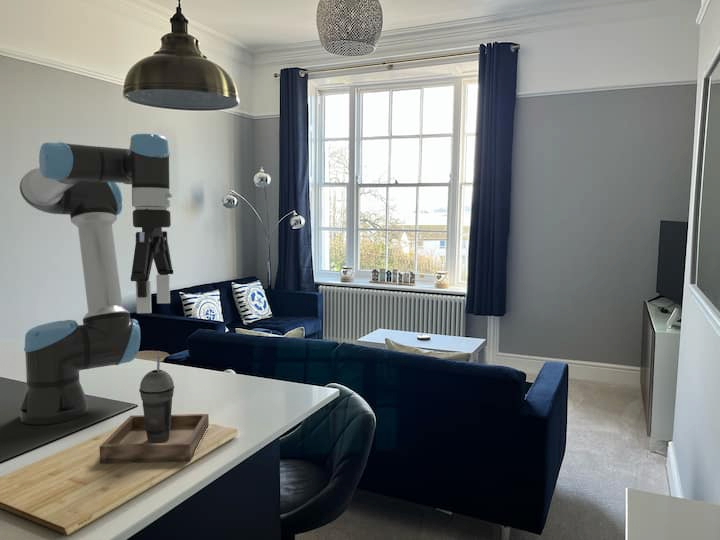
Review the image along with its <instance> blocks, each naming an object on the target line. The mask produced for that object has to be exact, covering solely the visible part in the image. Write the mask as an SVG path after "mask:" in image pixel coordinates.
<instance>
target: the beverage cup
mask: <svg viewBox="0 0 720 540" xmlns="http://www.w3.org/2000/svg"><path fill="white" fill-rule="evenodd" d="M160 362H161V351H160V350H158V351H157V360H156V369H154V370H151V371H149V372H147V373H146V374H145V375H144V376H143V377H142V379H141V382H140V385H139V390H138V392H139V393H140V394H139V395H140V398H141V401H142V409H143V415H144V418H145V426H146V434H147V439H148V442H149V443H163V442H166V441H168V440H169V435H170V425H171V415H172V410H173V409H172V406H173V396H174V393H175V391H174V390H175V385H174V380H173V378H172V376H171V375H170V374H169V373H168V372H167V371H166V370H164V369H163V370H162V369H160V368H161V367H160V366H161V365H160V364H161V363H160Z"/></svg>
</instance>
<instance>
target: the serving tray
mask: <svg viewBox="0 0 720 540" xmlns="http://www.w3.org/2000/svg"><path fill="white" fill-rule="evenodd" d="M208 426H209V427H210V425H209V413H194V414H193V413H191V414H190V413H187V414H171V425H170V435H169V440H168V441H166V442H163V443H149V442H148V439H147V434H146V426H145V418H144V414H142V415H140V414H139V415H129V417H128V418H126V419H125V420H124V422H122V424H120V425H119V426H118V428H116V429H115V431H114V432H113V433H111V434H110V436H109V437H107V438H106V440H104V442H103V443H101V444H100V445H99V447H98V448H99V463H100V464H118V463H119V464H120V463H121V464H123V463H122V462H130V463H157V462H156V461H158V462H159V461H167V462H191V460H192V459H193V457H194V455H195V454H194V452H195V450H196V448H197V446H198V444H199V442H200V440H201V439H202V437H203V435H204V433H205V431H206V429H207V428H208ZM202 440H203V439H202ZM198 447H199V446H198ZM197 449H198V448H197ZM196 451H197V450H196ZM195 453H196V452H195ZM154 461H155V462H154ZM159 463H160V462H159Z"/></svg>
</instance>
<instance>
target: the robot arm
mask: <svg viewBox="0 0 720 540" xmlns="http://www.w3.org/2000/svg"><path fill="white" fill-rule="evenodd" d="M39 149H40V150H39V155H38V157H39V158H38V159H39V160H38V161H39V165H38V166H39V167H38V168H34V169H31V170H29V171H27V172H26V174H24V175H23V177H22V178H21V181H20V183H19V192H20V195H21V196H22V198H23V200H25V202H26V203H27V204H28V205H30V206H31V207H32V208H34V209H36V210H38V211H41V212H43V213H47V214H53V215H67V216H70V222H71V223H72V224H73V225H75V227H77V229H78V237H79V239H78V241H79V247H80V248H79V249H80V254H81V264H82V271H83V272H82V273H83V278H84V279H83V280H84V288H85V297H86V304H87V305H86V306H87V313H86V314H85V315H84V317H82V324H79V323H78V322H77V321H76V320H73V319H66V320H57V321H51V322H47V323H43V324H39V325H36V326H34V327H31V328H30V329H29V330H27V331H26V333H25V334H24V335H25V336H24V348H23V351H24V353H25V372H26V390H25V394H24V396H23V400H22V403H21V406H20V410H19V418H20V419H19V420H20V422H22V423H24V424H26V425H35V426H37V425H38V426H39V425H53V424H57V423H59V424H60V423H64V422H67V421H72V420H75V419H77V418H80V417H82V416H84V415H86V413H87V412H89V402H88V399H87V395H86V393H85V392H84V389H83V387H82V384H81V383H80V382H81V381H80V371H83V370H90V369H97V368H104V367H109V366H119V365H122V364H126V363H130V362H133V361H134V360H135V359H136V357H137V355H138V353H139V351H140V350H139V349H140V345H141V327H140V324H139V322H138V321H139V320H137V319H135V318H131V314H130V311H128V310H127V309H126V308H125V307H124V306H123V301H122V293H121V291H122V290H121V285H120V283H121V282H120V277H119V270H118V269H119V268H118V262H117V254H116V253H117V252H116V247H115V238H114V232H113V231H114V230H113V224H115V222H116V221H117V218H118V216H119V215H120V214H121V212H122V209H123V196H122V192H121V188H120V185H119V183H120V184H121V183H122V184H125V185H131V206H132V207H133V208H135V209H133V211H132V226H133V227H134V228H141V231H136V232H135V246H134V254H133V259H132V267H131V268H132V269H131V276H130V282H135V299H136V304H135V305H136V314H152V290H151V289H152V287H151V286H152V283H151V282H152V281H151V280H149V279H150V276H151V271H152V266H153V262H154V265H155V269H156V273H157V274H156V276H155V277H156V280H155V281H156V304H171V287H170V285H171V284H170V282H171V281H170V280H171V279H170V275H173V274H174V269H173V265H172V260H171V253H170V247H169V242H168V231H166V230H163V229H164V228H170V227H171V221H172V219H171V211H170V210H169V209H168V208H170V207H171V203H170V202H171V200H170V199H171V198H173V193H171V192H170V153H171V152H170V149H169V141H168V139H167V138H166V137H165V136H163V135H159V134H154V133H136V134H133V135H132V136H131V137H130V145H129V148H120V147H119V148H118V147H107V146H96V145H83V144H75V143H74V144H73V143H65V142H61V141H58V142H45V143H43V144H42V145H41V146H40V148H39ZM162 228H163V229H162Z"/></svg>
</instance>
